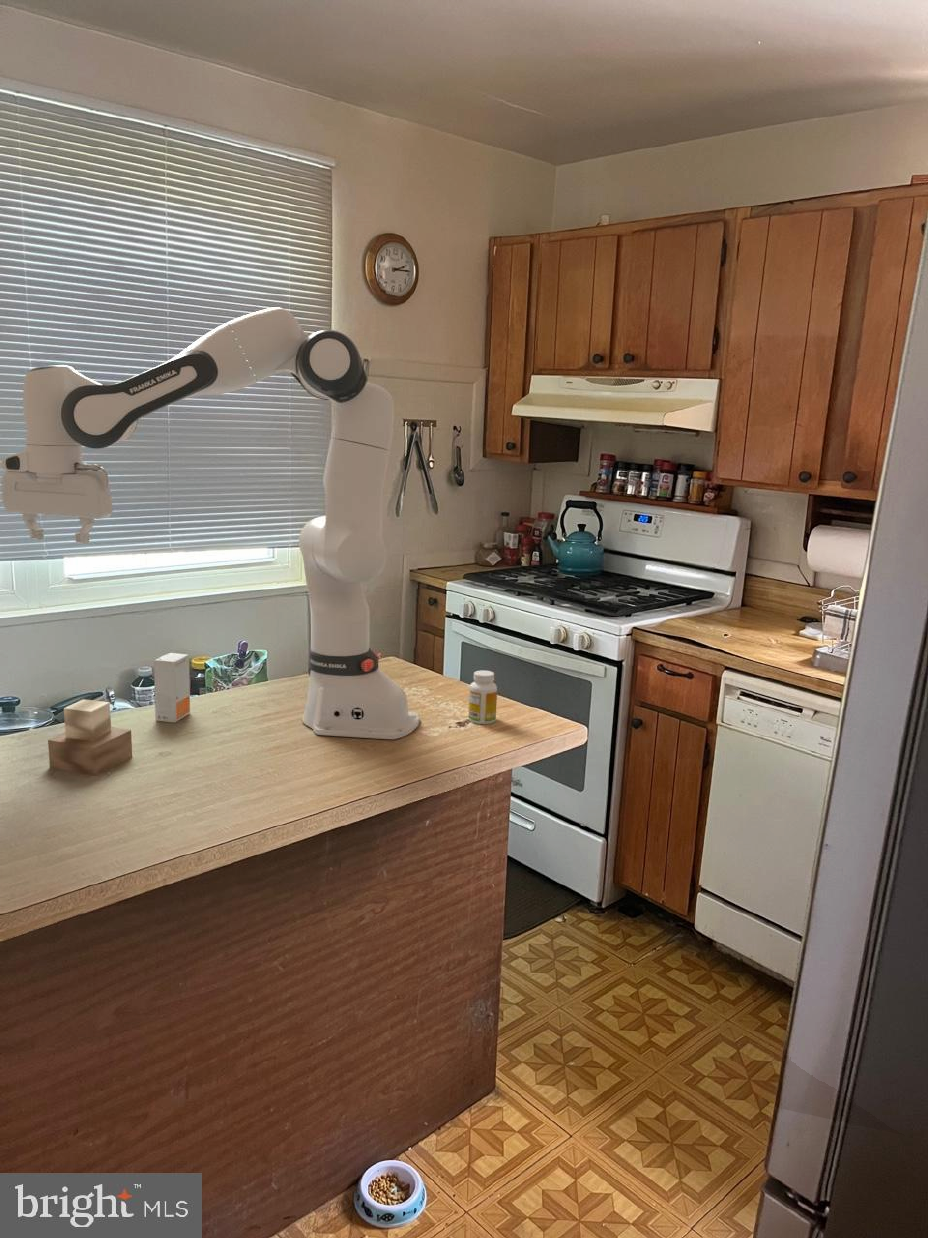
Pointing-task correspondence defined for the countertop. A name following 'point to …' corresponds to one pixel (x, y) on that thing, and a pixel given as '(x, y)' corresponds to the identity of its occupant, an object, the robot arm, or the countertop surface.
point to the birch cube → (87, 720)
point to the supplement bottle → (483, 698)
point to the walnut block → (90, 752)
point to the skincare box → (172, 687)
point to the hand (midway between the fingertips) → (59, 541)
